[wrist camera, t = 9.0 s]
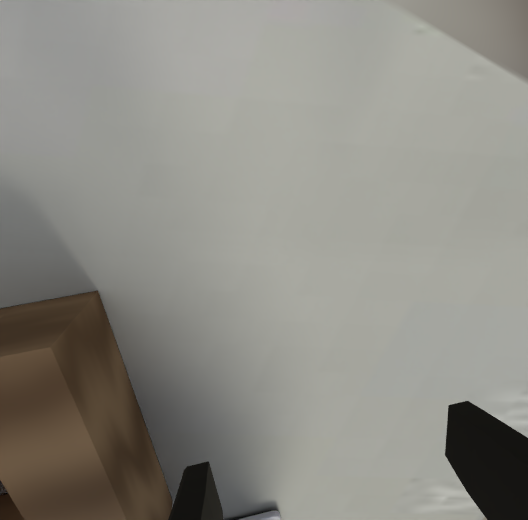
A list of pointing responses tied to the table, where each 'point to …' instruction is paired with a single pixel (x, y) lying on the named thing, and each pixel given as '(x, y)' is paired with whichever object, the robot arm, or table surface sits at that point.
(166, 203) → the table surface
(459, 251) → the table surface
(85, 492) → the wooden frame tray
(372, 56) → the table surface
